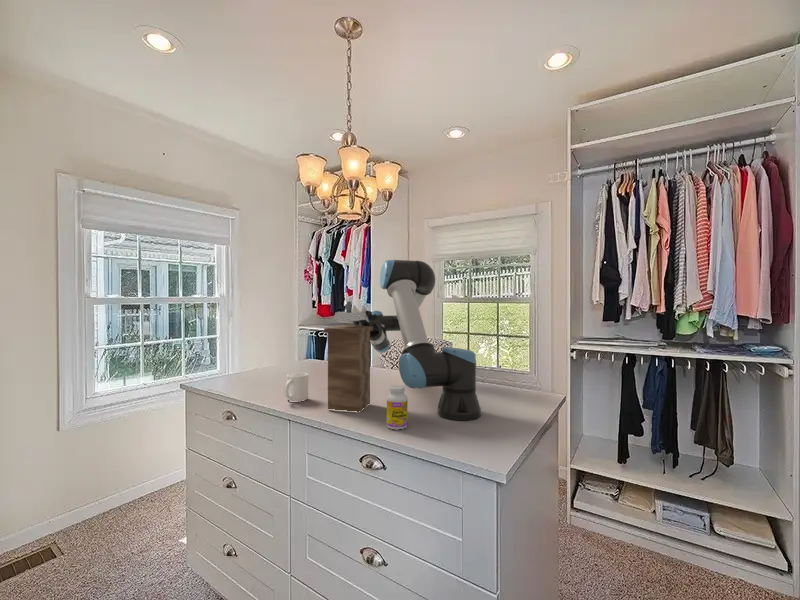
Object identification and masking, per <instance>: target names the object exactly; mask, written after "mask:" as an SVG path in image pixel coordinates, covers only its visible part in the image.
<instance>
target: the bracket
mask: <svg viewBox="0 0 800 600" xmlns="http://www.w3.org/2000/svg"><path fill="white" fill-rule="evenodd" d="M352 304H353V302H352V301H344V311H339V312H337V311H336V312H335V313H334V321H336V322H338V321H339V322H353V321H359V320H366V318H365V312H361V310H360V311H359V312H352V310H353V305H352Z"/></svg>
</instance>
